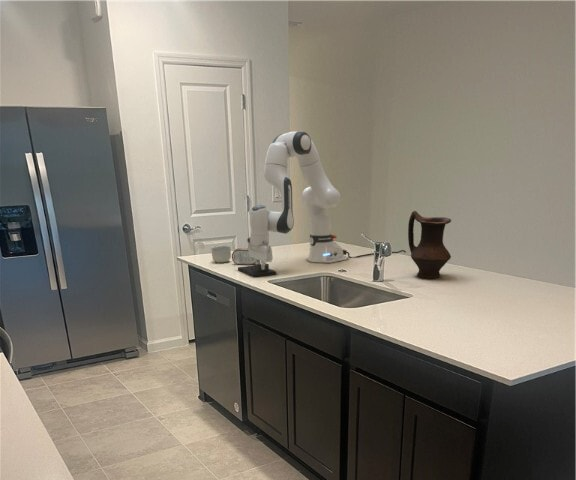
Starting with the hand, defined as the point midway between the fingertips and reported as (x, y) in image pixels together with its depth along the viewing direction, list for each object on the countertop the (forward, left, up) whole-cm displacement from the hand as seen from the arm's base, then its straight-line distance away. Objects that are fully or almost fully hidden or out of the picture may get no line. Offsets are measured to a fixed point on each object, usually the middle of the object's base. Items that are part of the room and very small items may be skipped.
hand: (260, 268), depth 274 cm
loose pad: (0, -2, -3) cm, 3 cm away
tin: (-4, -27, -3) cm, 28 cm away
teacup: (+4, -43, -3) cm, 43 cm away
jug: (-65, +49, -3) cm, 81 cm away
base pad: (0, -10, -3) cm, 11 cm away
